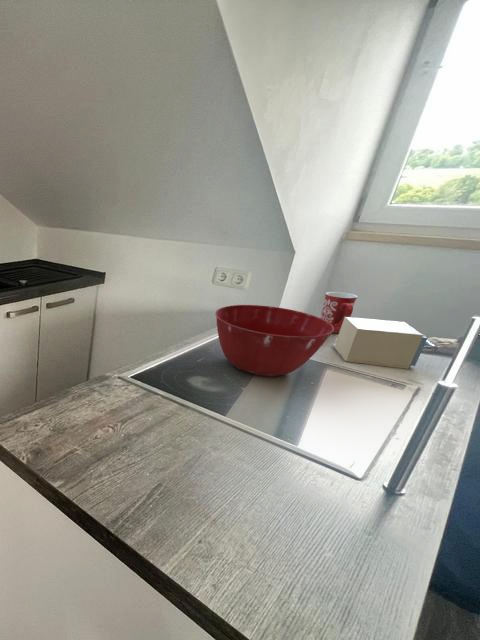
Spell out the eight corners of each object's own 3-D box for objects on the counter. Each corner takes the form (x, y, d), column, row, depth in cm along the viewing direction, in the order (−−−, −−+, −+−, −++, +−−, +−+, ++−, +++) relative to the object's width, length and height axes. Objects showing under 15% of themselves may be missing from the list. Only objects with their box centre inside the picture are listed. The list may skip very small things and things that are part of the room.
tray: (417, 354, 120) (429, 327, 117) (436, 368, 111) (450, 340, 108) (344, 346, 128) (354, 320, 124) (356, 359, 118) (366, 332, 115)
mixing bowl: (341, 378, 109) (360, 326, 103) (267, 397, 100) (284, 341, 94) (250, 344, 133) (262, 300, 127) (185, 357, 125) (194, 311, 118)
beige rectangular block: (390, 353, 124) (404, 321, 119) (408, 368, 113) (423, 335, 109) (334, 347, 130) (344, 316, 125) (345, 361, 119) (357, 328, 115)
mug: (310, 325, 150) (321, 291, 144) (338, 327, 147) (350, 292, 142) (324, 336, 139) (336, 299, 133) (354, 338, 136) (368, 301, 131)
